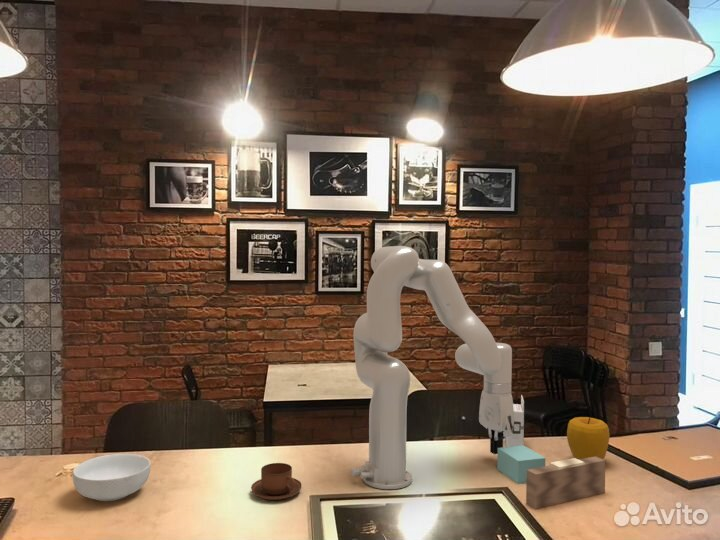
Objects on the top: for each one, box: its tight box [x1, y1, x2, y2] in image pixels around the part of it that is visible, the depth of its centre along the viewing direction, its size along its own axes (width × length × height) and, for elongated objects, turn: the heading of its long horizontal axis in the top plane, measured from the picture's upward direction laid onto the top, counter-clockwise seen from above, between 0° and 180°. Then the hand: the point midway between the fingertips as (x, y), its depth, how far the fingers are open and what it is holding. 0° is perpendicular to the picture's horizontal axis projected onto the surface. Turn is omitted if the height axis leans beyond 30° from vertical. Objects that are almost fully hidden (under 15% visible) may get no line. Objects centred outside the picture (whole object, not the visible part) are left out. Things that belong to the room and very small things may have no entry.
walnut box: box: [525, 456, 606, 510], centre depth 134 cm, size 22×3×9 cm, turn 115°
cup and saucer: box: [250, 462, 302, 501], centre depth 136 cm, size 12×12×6 cm
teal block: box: [496, 444, 546, 485], centre depth 149 cm, size 8×10×6 cm
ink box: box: [505, 394, 525, 447], centre depth 172 cm, size 9×5×15 cm, turn 168°
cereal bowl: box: [72, 453, 152, 502], centre depth 134 cm, size 17×17×7 cm
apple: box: [566, 416, 611, 460], centre depth 158 cm, size 11×11×13 cm
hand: (496, 452), depth 158 cm, fingers closed
